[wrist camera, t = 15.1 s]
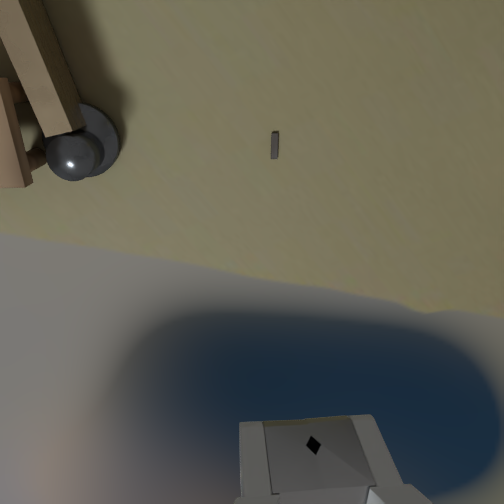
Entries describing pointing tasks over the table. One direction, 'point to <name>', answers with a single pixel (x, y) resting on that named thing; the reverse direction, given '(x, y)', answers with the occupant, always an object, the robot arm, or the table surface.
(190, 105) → the table surface
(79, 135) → the cam lever
